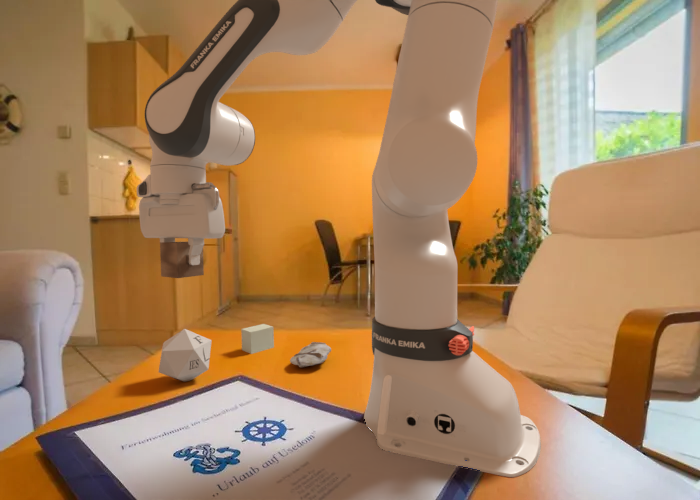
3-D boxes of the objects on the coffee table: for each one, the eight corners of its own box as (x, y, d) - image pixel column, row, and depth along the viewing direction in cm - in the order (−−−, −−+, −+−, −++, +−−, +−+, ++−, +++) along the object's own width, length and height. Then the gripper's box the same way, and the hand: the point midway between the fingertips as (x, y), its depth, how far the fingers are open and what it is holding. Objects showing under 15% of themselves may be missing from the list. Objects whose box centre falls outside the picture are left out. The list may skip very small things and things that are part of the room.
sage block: (273, 347, 85) (273, 326, 85) (251, 354, 81) (250, 332, 81) (264, 344, 88) (263, 323, 88) (242, 350, 84) (241, 329, 83)
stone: (322, 372, 70) (321, 359, 69) (286, 370, 71) (285, 357, 71) (333, 352, 79) (333, 340, 79) (301, 351, 80) (301, 339, 80)
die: (194, 395, 61) (191, 336, 60) (148, 391, 63) (145, 334, 62) (221, 375, 69) (220, 323, 69) (180, 372, 71) (178, 321, 70)
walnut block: (203, 275, 66) (202, 241, 65) (177, 278, 61) (176, 242, 61) (187, 273, 68) (186, 241, 68) (161, 276, 64) (159, 242, 64)
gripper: (233, 183, 61) (235, 265, 62) (164, 190, 72) (167, 260, 73) (199, 179, 56) (202, 268, 56) (131, 188, 67) (134, 262, 68)
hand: (182, 264), depth 65 cm, fingers closed on walnut block, 5 cm apart
